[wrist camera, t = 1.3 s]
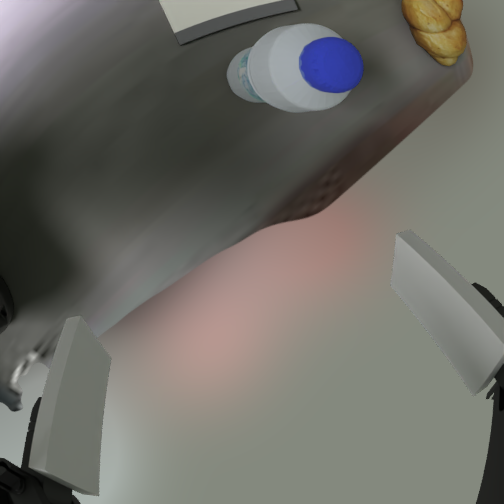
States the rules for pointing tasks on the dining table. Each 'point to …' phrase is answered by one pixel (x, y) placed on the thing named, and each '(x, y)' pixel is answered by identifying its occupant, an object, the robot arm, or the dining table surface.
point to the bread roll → (437, 27)
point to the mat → (217, 15)
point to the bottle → (297, 69)
